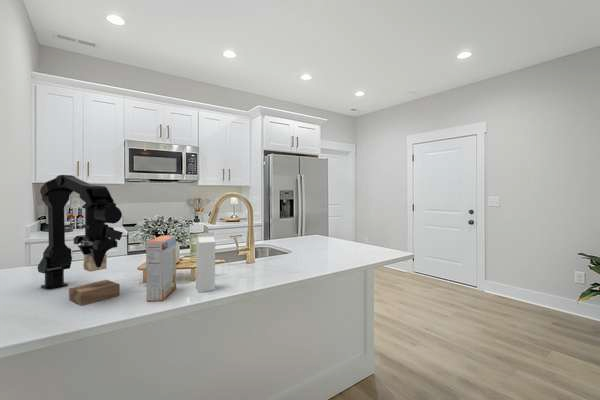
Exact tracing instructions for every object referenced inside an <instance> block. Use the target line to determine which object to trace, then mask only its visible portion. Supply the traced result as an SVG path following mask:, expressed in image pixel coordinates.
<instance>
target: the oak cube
mask: <svg viewBox="0 0 600 400" xmlns="http://www.w3.org/2000/svg"><path fill="white" fill-rule="evenodd" d="M107 256H108V255H107V254H105V256H104V259H103V262H102V264H101V267H98V268H97V267H96V264H95V262H94V259H93V257H92V254H88V255H83V270H85V271H86V272H90V273H91V272H95V271H102V270H107V265H108V264H107V263H108V262H107Z"/></svg>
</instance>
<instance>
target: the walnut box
mask: <svg viewBox="0 0 600 400" xmlns="http://www.w3.org/2000/svg"><path fill="white" fill-rule="evenodd" d="M120 286H121V284H120V283H118V282H114V281H111V280H109V279H104V280H100V281H94V282H90V283H89V282H88V283H86V284H82V285H77V286H72V287H70V288H68V300H69V301H70V302H72V303H74V304H76V305H79V306H86V305H90V304H92V303H96V302H100V301H104V300H107V299H111V298H114V297H118V296H120V294H121V293H120V290H121V289H120Z"/></svg>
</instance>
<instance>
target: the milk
mask: <svg viewBox="0 0 600 400" xmlns="http://www.w3.org/2000/svg"><path fill="white" fill-rule="evenodd" d="M214 236H215V235H214V232H199V233H197V239H196V243H195V245H196V248H195V249H196V252H195V253H196V256H195V257H196V258H195V260H196V261H195V289H196V290H197V292H198V293H199V294H200V293H206V292H213V291H215V290H216V289H215V288H216V286H215V285H216V284H215V283H216V239H215V237H214Z"/></svg>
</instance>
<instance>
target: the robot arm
mask: <svg viewBox="0 0 600 400" xmlns="http://www.w3.org/2000/svg"><path fill="white" fill-rule="evenodd" d="M39 192H40V195H41V201H42V203H44V204H45V206H46V207H47V226H48V227H47V228H48V229H47V230H48V245H47V247H46V248H45V249H44V251H43V254H42V258H41V260H40V261H39V264H38V265H37V271H38V273H40V274H44V284H41V285H40V287H41V288H44V289H45V290H51V289H56V288H61V287H66V286H68V283H67V282H65V279H64V278H65V270H69V269H71V265H72V262H73V261H72V260H73V257H72V249H71V247H69V246H67V245H66V235H65V234H66V233H65V231H66V227H65V226H66V225H65V207H66V205H67V203H68V202H69V201H70V196H71V194H73V192H74V193H76V194H78V195H79V199H81V200H82V201H83V202H84V204H83V205H82V206H81V207H82V209H84V224H82V228H83V229H84V234H83V235H76V236H75V237H74V238H73V244H74V245H77V248H79V250H80V252H81V253H82V255H83V256H84V255H88V254H92V257H93V259H94V262H95V264H96V267H97V268H98V267H101V264H102V262H103V259H104V256H105V254H106V253H107V252H108V251H110V250H111V249H115V248H118V241H121V239H122V236H123V233H124V232H123V231H119V230H115V228H114V227H111V226H109V225H108V224H116V223H118V222H119V221H120V220H121V219H122V215H123V212H122V211H121V209H120V208H119V207H117V204H116V202H114V199H113V197H112V195H111V193H110V191H109V189H108V187H107V186H105V185H99V184H98V185H97V184H90V183H88V182H86V181H84V180H81V179H80V178H78V177H76V176H75V175H72V174H71V175H69V174H59V175H57V176H56V177H55V178H53V179H50V180H48V181H46V182H45V183H44V184H42V186H41V188H40V189H39ZM106 255H107V254H106Z"/></svg>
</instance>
